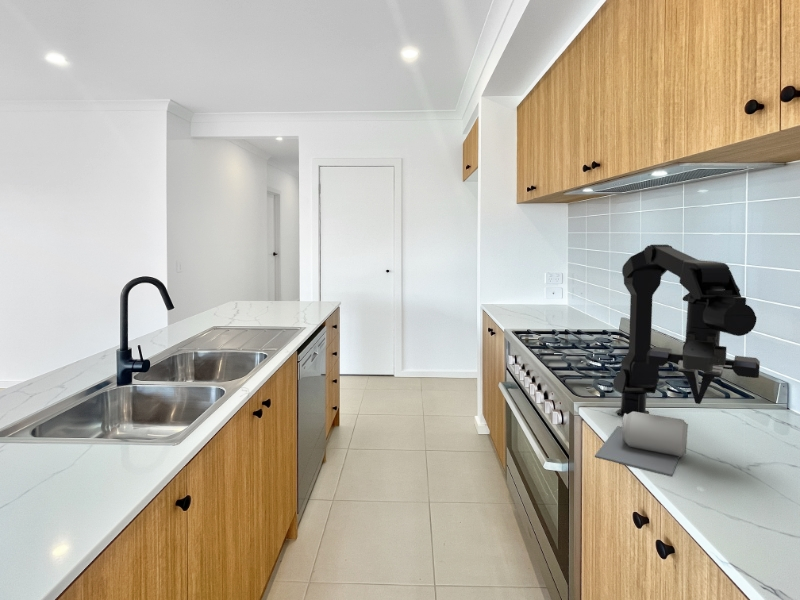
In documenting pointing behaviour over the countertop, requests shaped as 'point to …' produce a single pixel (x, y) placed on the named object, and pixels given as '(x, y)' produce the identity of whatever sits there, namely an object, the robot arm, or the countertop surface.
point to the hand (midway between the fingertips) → (698, 403)
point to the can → (655, 433)
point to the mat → (636, 455)
